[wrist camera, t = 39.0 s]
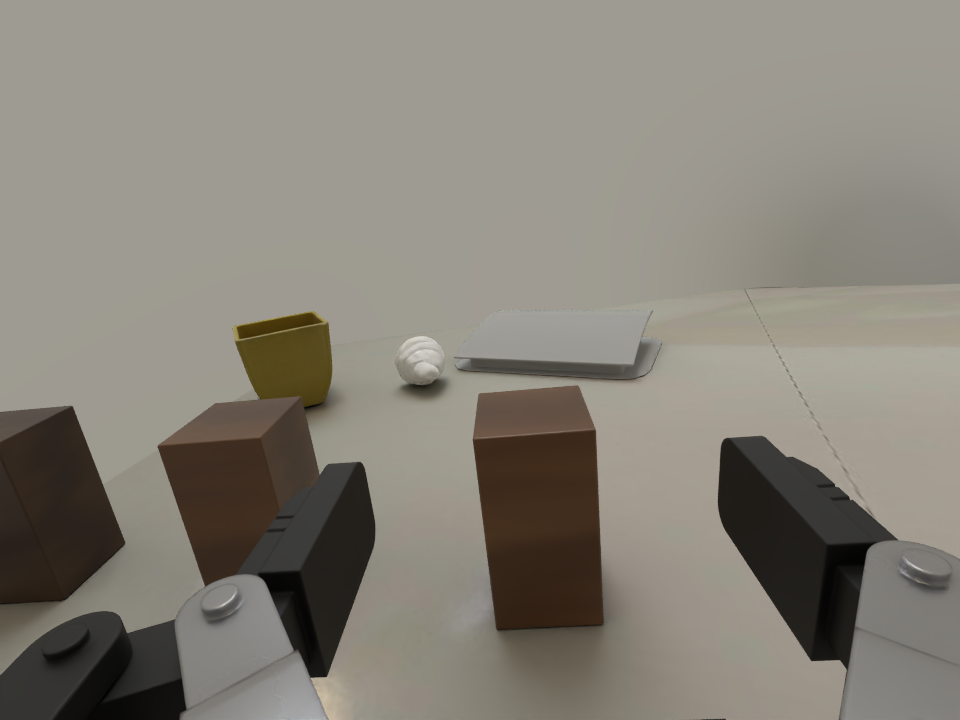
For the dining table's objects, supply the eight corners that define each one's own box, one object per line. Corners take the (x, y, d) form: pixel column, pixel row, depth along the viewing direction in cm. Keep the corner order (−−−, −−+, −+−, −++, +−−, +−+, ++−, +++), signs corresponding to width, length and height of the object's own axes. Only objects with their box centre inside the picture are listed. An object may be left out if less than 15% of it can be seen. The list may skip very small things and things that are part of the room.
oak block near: (64, 600, 29) (-6, 444, 26) (-16, 605, 29) (-95, 451, 26) (126, 543, 34) (72, 405, 31) (56, 547, 34) (-4, 411, 31)
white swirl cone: (409, 402, 52) (401, 352, 50) (397, 385, 57) (389, 339, 56) (459, 390, 54) (453, 341, 52) (443, 374, 59) (437, 329, 57)
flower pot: (251, 401, 57) (231, 324, 55) (329, 382, 61) (313, 309, 58) (257, 428, 50) (234, 340, 47) (346, 404, 53) (329, 321, 51)
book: (497, 333, 74) (494, 307, 73) (664, 337, 64) (664, 306, 62) (446, 369, 61) (441, 338, 60) (645, 380, 51) (645, 343, 49)
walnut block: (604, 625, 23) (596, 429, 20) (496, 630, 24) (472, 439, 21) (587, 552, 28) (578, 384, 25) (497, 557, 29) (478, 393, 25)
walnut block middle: (306, 611, 26) (260, 437, 23) (214, 615, 27) (156, 445, 24) (336, 546, 31) (301, 395, 28) (258, 551, 31) (214, 403, 28)
